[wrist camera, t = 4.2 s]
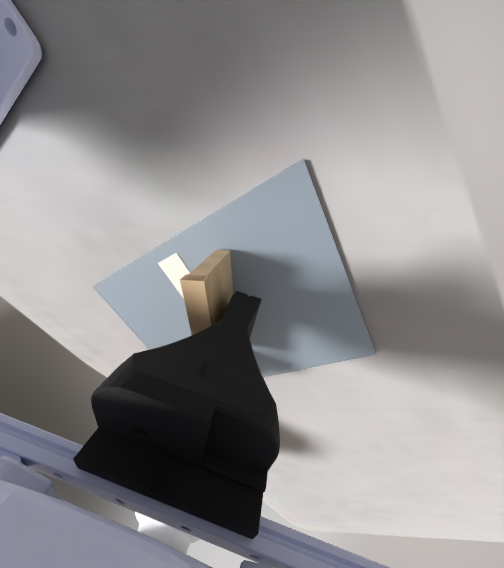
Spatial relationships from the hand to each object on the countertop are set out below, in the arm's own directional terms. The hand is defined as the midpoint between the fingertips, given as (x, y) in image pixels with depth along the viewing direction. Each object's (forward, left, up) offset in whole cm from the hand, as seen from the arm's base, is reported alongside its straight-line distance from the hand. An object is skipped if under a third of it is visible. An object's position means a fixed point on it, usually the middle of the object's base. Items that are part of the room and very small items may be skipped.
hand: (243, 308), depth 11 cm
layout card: (+1, -2, -2) cm, 3 cm away
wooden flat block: (0, -1, -1) cm, 2 cm away
